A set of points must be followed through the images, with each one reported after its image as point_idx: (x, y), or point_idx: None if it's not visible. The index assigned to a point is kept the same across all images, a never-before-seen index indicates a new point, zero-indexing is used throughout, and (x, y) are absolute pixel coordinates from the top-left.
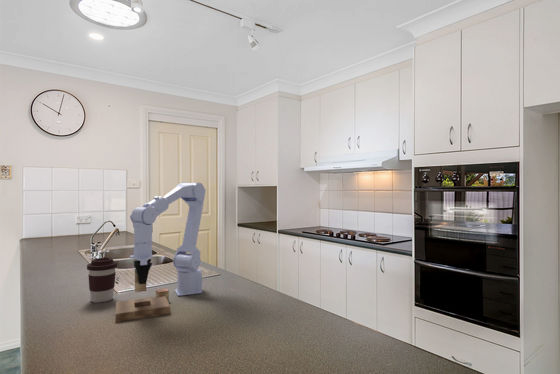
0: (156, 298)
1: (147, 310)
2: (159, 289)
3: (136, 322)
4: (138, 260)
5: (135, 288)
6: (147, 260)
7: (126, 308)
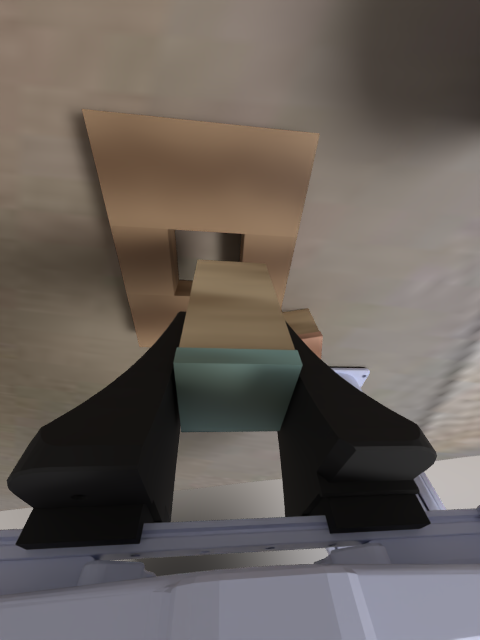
0: None
1: (124, 275)
2: (317, 347)
3: (81, 216)
4: (370, 478)
5: (196, 273)
6: (293, 516)
7: (167, 186)
